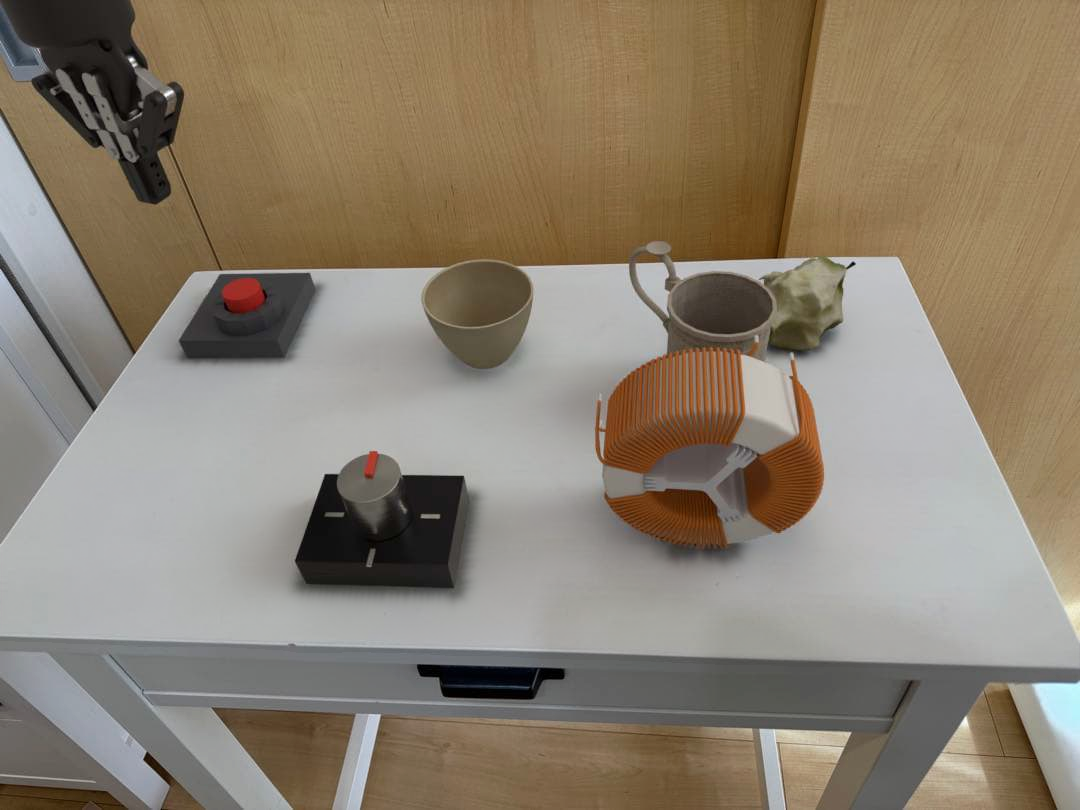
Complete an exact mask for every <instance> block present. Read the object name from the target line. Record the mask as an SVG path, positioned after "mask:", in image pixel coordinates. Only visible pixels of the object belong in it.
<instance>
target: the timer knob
mask: <svg viewBox="0 0 1080 810" xmlns="http://www.w3.org/2000/svg"><path fill="white" fill-rule="evenodd" d="M338 474H339V476H338V479H337V488H338V491H339V493H340V496H341V498H342V501H343V503H344V506H345V508H346V511H347V513H348V516H349V518H350V520H351V523H352V525H353V528H354V530H355V531H356V533H357V534H358V535H359V536H361V537H362V538H364V539H367V540H371V541H382V540H387V539H390V538H392V537H394V536H396V535H398V534H399V533H401V532H402V531H403V530H404V529H405V528H406V527H407V525H408V524H409V522H410V520H411V517H412V507H411V503H410V500H409V497H408V494H407V490H406V487H405V484H404V480H403V477H402V475H403V474H402V471H401V467H400V466H399V463H398V462H397V461H396V460H395V459H394V458H393V457H391V456H389V455H387V454H384V453H379V452H378V450H369V452H368V453H366V454H363V455H360V456H358V457H355V458H353V459H352V460H350V461H348V462H347V463H346V464H345V465H344V466H343V467H342V469H341V470H340V471H339V473H338Z"/></svg>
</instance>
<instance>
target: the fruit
mask: <svg viewBox="0 0 1080 810" xmlns="http://www.w3.org/2000/svg"><path fill="white" fill-rule="evenodd" d="M856 264H857V263H856V262H855V261H854V260H853V261H851V262H850V263H849V265H847V266H846V265H845V264H841V263H839V262H838V263H836V262H835V261H833V260H831V259H830V258H828V257H827V256H825V255H823V254H820V255H819V256H818V257H817V258H815V257H810V258H809V259H807V260H804V261H802V263H801V264H799V265H797V266H795V268H793V269H788V270H786V271H784V272H782V271H772V272H770V273H766V274H764V275H762V276H760V278H759V279H758V281H762V280H763V285H765V286H766V287H767V288H768V289H769V290H771V292H772V294H773V295H774V297H775V299H776V303H777V313H776V317H775V319H774V321H773V323H772V325H771V329H770V335H769V340H768V344H769V345H771V346H773V347H775V348H779V349H783V350H788V351H797V352H798V351H799V352H803V351H804V352H805V351H809V350H811V349H812V350H813V349H817V348H818V347H819V346H820V339H821V338H822V337H823V335H824V334H825V333H826V332H827V331H829V330H832V329H835V328H836V327H838V326H839V325H841V324H842V323H843V322H844V314H843V297H844V285H843V284H844V280H845V277H846V275H847V271H848V270H849V269H851V268H852V267H854V266H856Z"/></svg>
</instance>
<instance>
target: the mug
mask: <svg viewBox="0 0 1080 810" xmlns="http://www.w3.org/2000/svg"><path fill="white" fill-rule="evenodd" d="M671 250H672V246H671V244H669V243H668V242H666V241H662V240H661V241H660V240H655V241H650V242H648V243H647V245H646V246H639V247H637V248H636V249H634V251H632V252H631V255H630V257H629V263H628V272H629V273H628V274H629V279H630V282H631V285H632V288H633V290H634V291H635V293H636V294H637V297H638V298H639V299H640V300H641V301H642V302H643V303H644V304H645V305H646V307H648V308H649V309H650V310H651V311H652V312H653V314H655V315H656V316H657V317H658V318H659V320H660V321H661V323H662V326H663V328H664V329H665V331H666V333H667V345H666V355H667V356H668V357H669V353H673V354H674V355H675V352H676V351H679V352H680V354H681V355H682V350H686V352H687V353H688V351H689V349H692V350H693V352H695V349H696V348H699V351H700V352H702V348H703V347H705V348H706V352H709V348H710V347H712V348H713V351H715V349H716V348H717V347H718V348H720V351H722V349H723V348H726V349H727V352H728V350H729V349H733V351H734V352H735V351H736V350H740V353H741V355H747V354H748V353H749V352H750V350H751V349H752V348H753V347H754V345H755V340H754V336H755V335H758V340H759V346H758V348H757V349H756V351H755V352H754V353H753V355H752V356H751V357H752V358H755V359H758V360H760V361H763V362H765V361H766V355H767V350H768V345H769V343H768V340H769V335H770V329H771V325H772V323H773V321H774V319H775V317H776V313H777V303H776V299H775V297H774V295H773V294H772V292H771V290H769V289H768V288H767V287H766V286H765V285H764V283H763V282H761V281H760V280H757V279H755V278H753V277H751V276H749V275H746V274H741V273H737V272H733V271H724V270H722V271H720V270H711V271H705V272H704V271H703V272H698V273H695V274H692V275H689V276H687V277H684V278H682V279H681V278H680V277H678V276H677V270H676V268H675V264H674V262H673V260H672V259H671V258H670V256H669V255H668V253H670V252H671ZM641 254H650V255H653V256H655V257H657V258H658V259H659V260H660V261H661V262H662V263H663V264H664V266H665V267H666V269H667V273H668V277H666V278H665V280H664V290H665V291H667V292H669V293H668V294H667V303H666V311H667V314H668V315H667V314H666V313H665V312H664V310H663V309H662V308H661V307H660V306H659V305H658V304H657V303H655V301H653V300H652V298H651V297H650V296H649V295H648V294H647V293H646V292H645V290H644V289H643V287H642V285H641V283H640V281H639V278H638V274H637V258H638V257H639V255H641Z"/></svg>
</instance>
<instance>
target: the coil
mask: <svg viewBox="0 0 1080 810" xmlns="http://www.w3.org/2000/svg"><path fill="white" fill-rule="evenodd" d="M754 340H755V345H754V347H753V348H752V349H751V350H750V352H749V353H748V354H747V355H741V353H740V350H736V351H735V352H734V351H733V349H729V350H728V352H727V349H726V348H723V349H722V351H720V348H718V347H717V348H716V349H715V351H713V348H712V347H710V348H709V352H706V348H705V347H703V348H702V352H700V351H699V348H696V349H695V352H693V350H692V349H689V351H688V353H687V352H686V350H682V355H681V354H680V352H679V351H676V352H675V355H674V354H673V353H669V357H668V356H667V353H666V354H663V355H662V356H657V357H656V358H652V359H651V360H650V361H646V362H645V364H640V366H639V367H638V366H637V367H636V368H635V369H634V370H632V371H631V372H630V373H629V374H627V375H626V377H623V379H622V380H621V381H620V382H619V383H618V385H616V386H615V388H614V390H613V391H612V393H611V394H610V396H609V398H608V400H607V409H606V418H605V428H603V427H602V426H603V420H600V419H601V409H602V407H601V406H602V398H603V397H602V396H603V394H602V393H598V396H597V404H596V413H595V426H594V433H595V434H594V440H595V441H594V442H595V447H594V448H595V453H596V456H597V459H598V460H599V462H600V463H601V464H602V472H601V478H602V481H603V482H602V483H603V488H604V494H603V498H604V500H605V502H606V503H607V506H608V507H610V509H611V510H612V512H614V513H615V515H616V516H618V518H619V519H620V520H622V521H623V522H624V523H626V524H627V525H628V526H630V527H631V528H633V529H635V530H636V531H639V532H640V533H641V534H644V535H646V536H650V537H651V538H654V539H656V540H660V541H661V542H666V543H668V544H669V543H672V545H675V544H677V545H678V546H681V545H683V546H684V547H687V546H689V548H690V547H691V548H693V547H695V548H699V547H700V546H701V548H702V549H704V548H706V547H707V548H708V549H711V547H712V546H713V548H714V549H717V548H718V546H719V548H720V549H722V548H725V549H728V548H729V547H731V544H735V543H741V542H748V541H752V540H755V539H758V538H761V537H764V536H768V535H771V534H772V533H775V534H781V533H782V532H785V531H786V530H787V529H791V528H792V526H795V525H796V523H798V522H800V521H801V520H803V519H804V517H805V516H807V515H808V513H810V512H811V510H812V509H813V508H814V506H815V504H816V503H817V501H818V500H819V498H820V496H821V494H822V490H823V487H824V482H825V468H824V462H823V456H822V450H821V444H820V438H819V432H818V426H817V421H816V414H815V409H814V406H813V403H812V399H811V398H810V395H809V393H808V392H807V389H806V388H804V387H805V386H803V384H801V381H800V380H799V378H798V372H797V368H796V363H795V356H794V352H790V353H789V361H790V366H791V372H792V375H788V374H786V373H784V372H783V371H781V370H780V369H779V368H777V367H775V366H774V365H772V364H770V363H768V362H763V361H760V360H758V359H755V358H752V357H751V356H752V355H753V353H754V352H755V351H756V349H757V348H758V346H759V340H758V335H755V336H754ZM600 432H601V433H604V440H603V451H602V452H603V453H601V443H600ZM602 454H603V455H602Z"/></svg>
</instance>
